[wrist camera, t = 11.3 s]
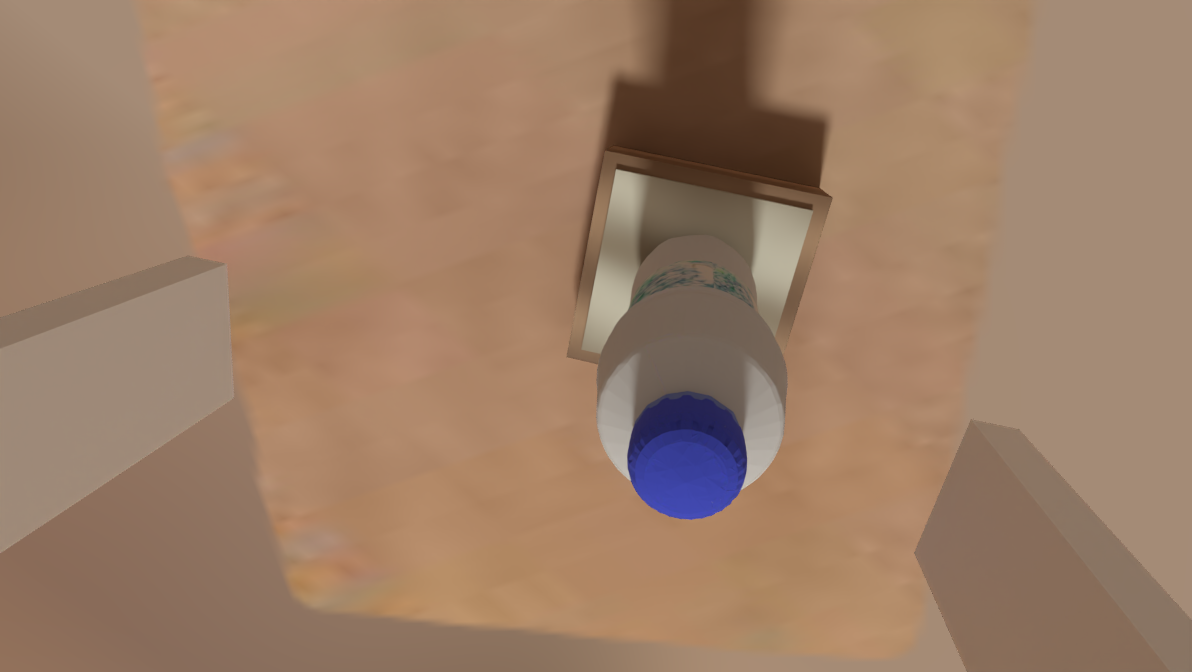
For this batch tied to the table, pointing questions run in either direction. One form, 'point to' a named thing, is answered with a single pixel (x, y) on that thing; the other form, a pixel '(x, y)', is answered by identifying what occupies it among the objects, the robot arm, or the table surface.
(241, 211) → the table surface
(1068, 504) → the robot arm
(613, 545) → the table surface
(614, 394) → the bottle
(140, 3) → the table surface
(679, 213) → the picture frame
